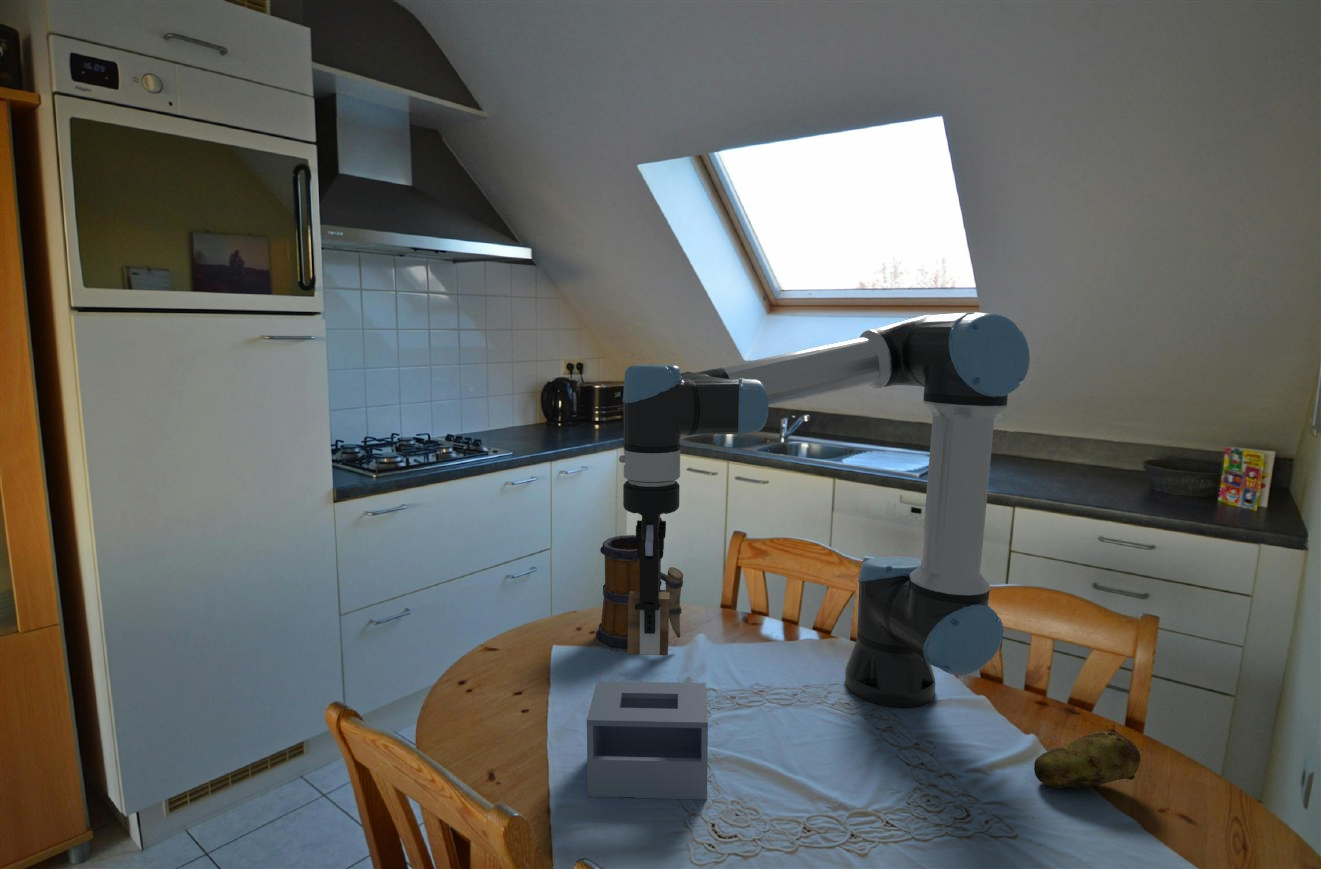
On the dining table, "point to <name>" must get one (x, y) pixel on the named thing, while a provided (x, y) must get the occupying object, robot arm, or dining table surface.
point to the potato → (1089, 761)
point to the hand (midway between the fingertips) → (650, 647)
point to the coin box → (648, 740)
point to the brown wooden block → (635, 623)
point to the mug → (622, 580)
